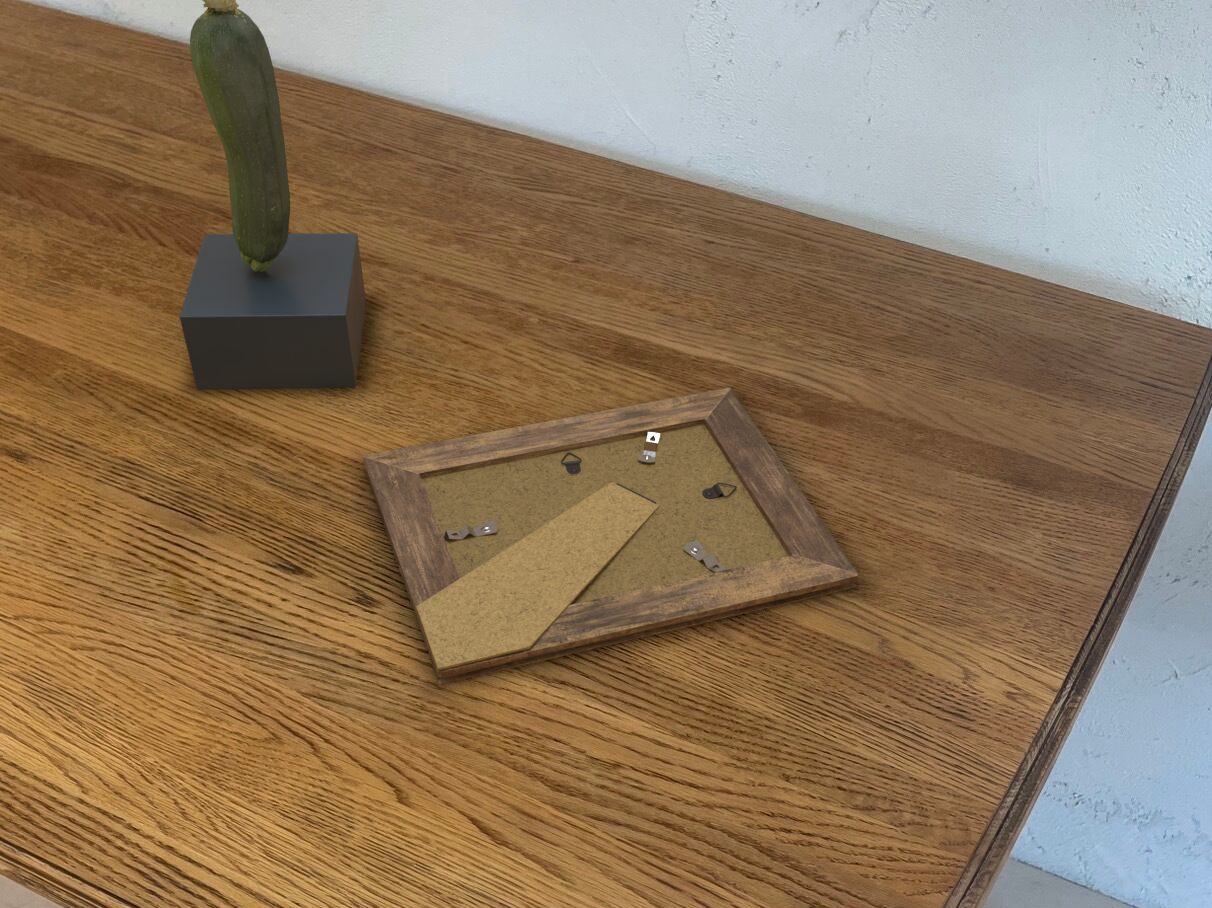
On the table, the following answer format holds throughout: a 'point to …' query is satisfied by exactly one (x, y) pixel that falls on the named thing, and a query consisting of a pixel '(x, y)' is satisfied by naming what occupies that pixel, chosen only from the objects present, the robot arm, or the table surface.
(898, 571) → the table surface
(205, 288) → the block
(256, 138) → the vegetable
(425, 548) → the picture frame
